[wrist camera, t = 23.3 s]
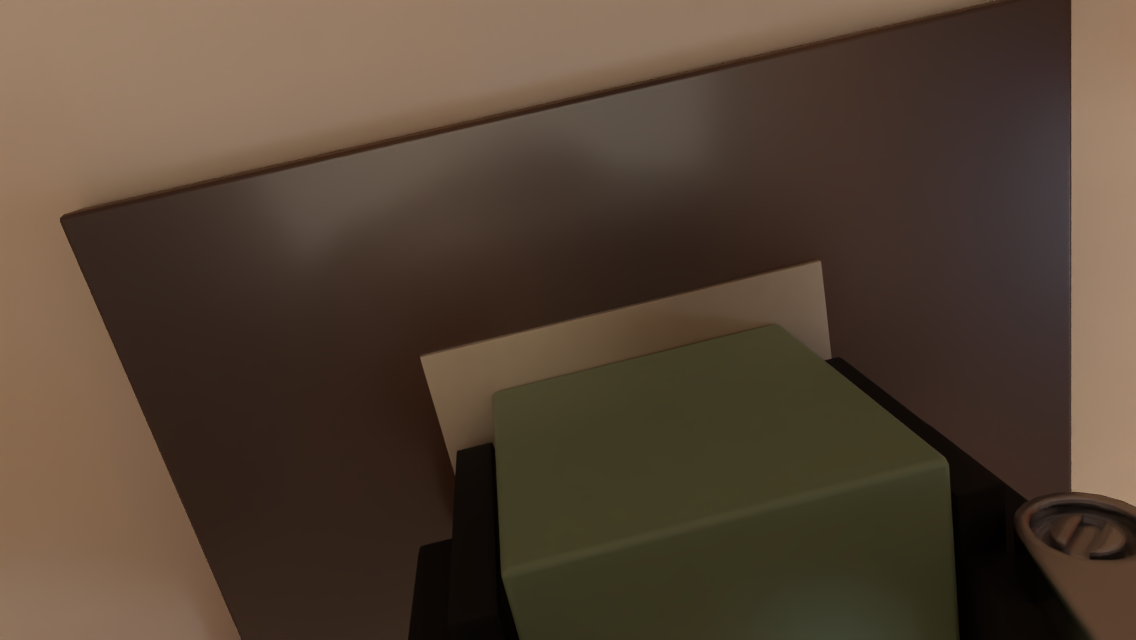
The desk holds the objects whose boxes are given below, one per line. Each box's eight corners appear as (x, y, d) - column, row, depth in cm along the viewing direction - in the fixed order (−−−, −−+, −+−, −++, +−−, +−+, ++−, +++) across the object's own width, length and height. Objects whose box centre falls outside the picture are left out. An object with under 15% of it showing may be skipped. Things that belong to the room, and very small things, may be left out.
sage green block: (555, 630, 13) (593, 902, 8) (491, 390, 11) (499, 573, 7) (811, 564, 13) (972, 798, 9) (778, 320, 11) (952, 458, 7)
